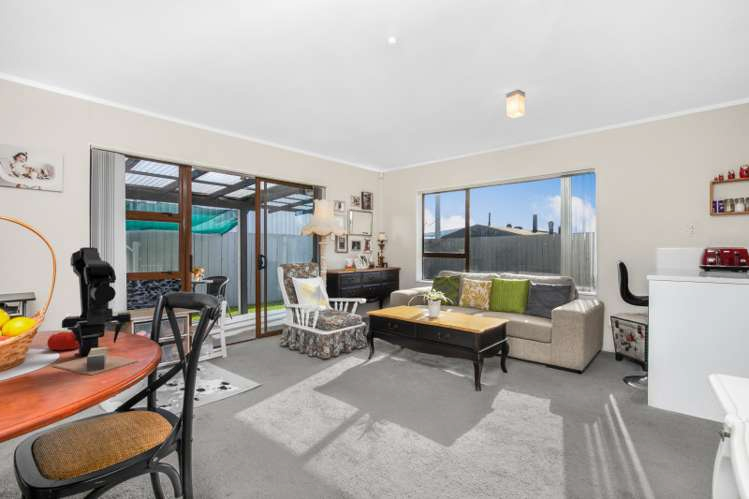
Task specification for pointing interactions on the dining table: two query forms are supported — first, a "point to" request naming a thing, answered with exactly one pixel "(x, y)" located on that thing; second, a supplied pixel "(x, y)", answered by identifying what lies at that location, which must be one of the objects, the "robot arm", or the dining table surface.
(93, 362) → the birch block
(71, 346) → the tomato
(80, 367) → the rubber mat
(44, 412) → the dining table surface
